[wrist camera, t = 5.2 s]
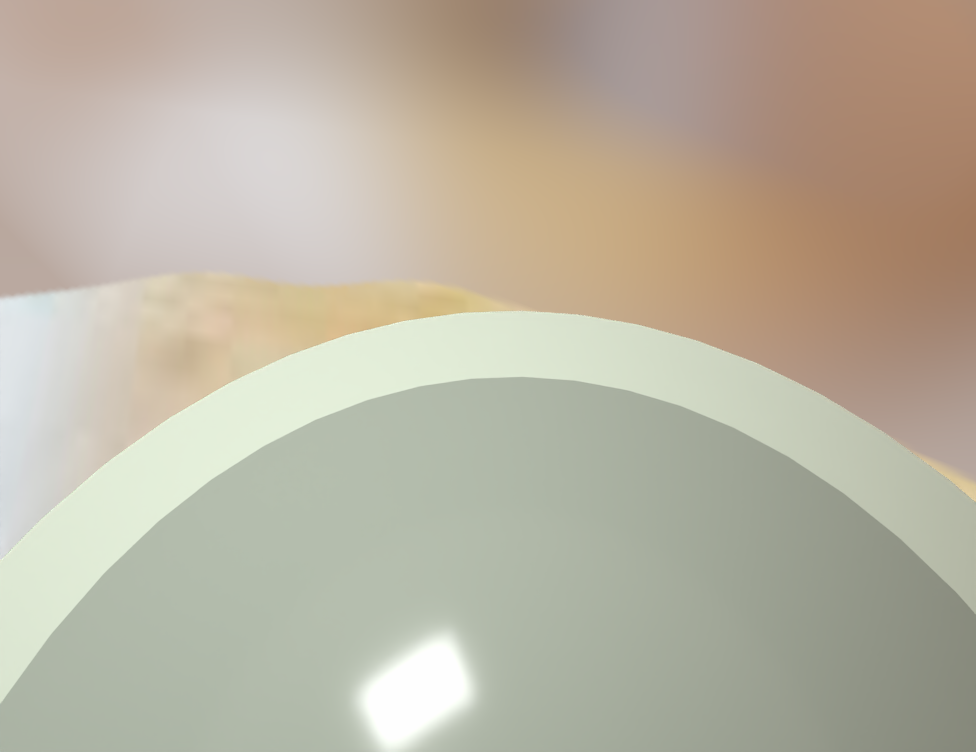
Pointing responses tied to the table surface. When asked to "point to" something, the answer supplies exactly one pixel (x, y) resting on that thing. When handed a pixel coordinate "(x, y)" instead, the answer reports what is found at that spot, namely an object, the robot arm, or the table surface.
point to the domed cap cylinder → (499, 561)
